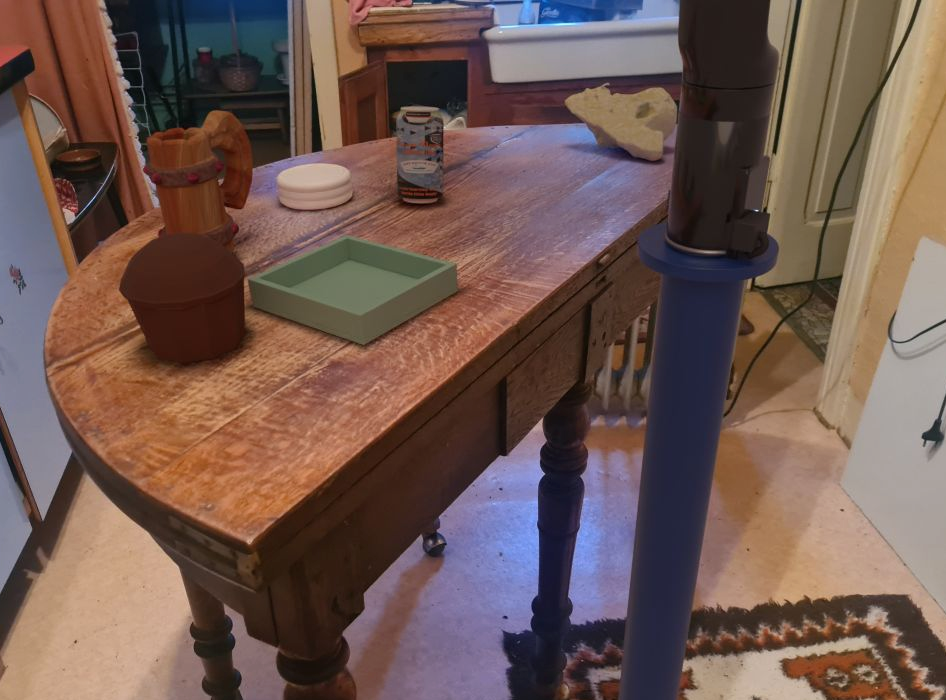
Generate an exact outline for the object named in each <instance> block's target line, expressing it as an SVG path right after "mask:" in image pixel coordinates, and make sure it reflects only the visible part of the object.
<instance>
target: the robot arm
mask: <svg viewBox="0 0 946 700" xmlns="http://www.w3.org/2000/svg"><path fill="white" fill-rule="evenodd" d="M771 2H772V1H771V0H679V8H678V25H677V26H678V27H677V28H678V29H677V44H678V45H677V46H678V49H679V54H680V57H681V61H682V73H681V86H680V94H679V104H678V112H677V122H676V133H675V142H674V143H675V144H674V154H673V162H672V171H671V173H672V174H671V180H670V189H668V191H667V192H668V193H667V202H668V211H667V219H666V222H667V226H666V228H667V230H666V232H665V243H666V245H667V246H668V247H669V248H671V249H673V250H675V251H677V252H679V253H682V254H686V255H690V256H695V257H703V258H730V259H737V258H738V257H739V256H741V255H742V254H743V253H744V252H746V256H747V258H749V259H751V258H754V257H757V256H760V255H762V254H763V253H765V252H766V250H767V249H768V247H769V239H768V237H767V233H768V232H769V225H770V219H771V213H769V212H765V211H763V206H764V200H765V194H766V186H767V181H768V175H769V169H770V164H771V157H770V156H769V155H767V154H765V153H766V148H767V147H766V146H767V141H768V134H769V128H770V121H771V115H772V110H773V103H774V98H775V90H776V84H777V78H778V73H779V65H780V53H779V50H778V49H777V48H776V47H775V46H774V45H772V43H771V41H770V38H769V21H770V10H771ZM758 246H759V247H758ZM757 247H758V248H757Z"/></svg>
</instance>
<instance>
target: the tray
mask: <svg viewBox="0 0 946 700" xmlns="http://www.w3.org/2000/svg"><path fill="white" fill-rule="evenodd" d="M247 283H248V289H249V294H250V301H251V304H252V308H255V309H258V310H262V311H264V312H267V313H270V314H273V315H275V316H279V317H282V318H284V319H287V320H290V321H293V322H296V323H299V324H302V325H304V326H307V327H310V328H313V329H315V330H318V331H322V332H325V333H327V334H330V335H333V336H336V337H338V338H342V339H344V340H347V341H350V342H354V343H356V344H359V345H362V346H366V345H367V344H369V343H370V342H372V341H374V340H375V339H377V338H379V337H381V336H383V335H384V334H387V333H388V332H390V331H391V330H393V329H395V328H397V327H399V326H400V325H402V324H403V323H405V322H407V321H408V320H410V319H412V318H414V317H416V316H417V315H419V314H420V313H423V312H424V311H426V310H428V309H430V308H431V307H433V306H435V305H436V304H438V303H440V302H441V301H443V300H445V299H447V298H449V297H450V296H452V295H455V294H456V293H457V292H458V291H459V287H458V286H459V285H458V265H457V263H456V262H452V261H448V260H446V259H445V260H444V259H440V258H437V257H432V256H428V255H426V254H422V253H417V252H413V251H411V250H406V249H402V248H400V247H394V246H391V245H387V244H383V243H379V242H376V241H372V240H367V239H364V238H360V237H356V236H352V235H348V234H346V235H344V236H341V237H339V238H337V239H334V240H332V241H330V242H328V243H326V244H322V245H320V246H319V247H316V248H314V249H312V250H310V251H307V252H305V253H302V254H300V255H298V256H296V257H294V258H292V259H289V260H287V261H285V262H282V263H280V264H278V265H276V266H273V267H270V268H269V269H267V270H264V271H262V272H259V273H257V274H255V275H253V276H251V277H248V278H247Z"/></svg>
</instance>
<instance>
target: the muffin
mask: <svg viewBox="0 0 946 700" xmlns="http://www.w3.org/2000/svg"><path fill="white" fill-rule="evenodd" d="M245 271H246V270H245V263H243V262H242V261H241V260H240V259H239V258H238V257H237V256H236V255H235V254H234V253H233V252H232V253H231V252H230V251H229V250H228V249H227V248H225V247H224V246H223V245H221V244H219V243H218V242H216V241H214V240H212V239H211V238H208V237H205V236H202V235H200V234H194V233H173V234H168V235H163V236H161V237H159V236H158V237H156V238H153V239H151V240H150V241H148V242H147V243H146V244H145V245H143V246H142V247H141V248H140V249H139V250H137V251H136V252H135V253H134V254H133V255H132V256H131V258H130V259H129V261H128V264H127V266H126V267H125V270H124V272H123V275H122V277H121V278H120V282H119V287H118V291H119V292H120V294H121V295H122V297H123V298H124V299H126V300H127V302H128V304H129V307H130V308H131V310H132V313H133V315H134V317H135V319H136V321H137V324H138V325H139V328H140V330H141V332H142V334H143V337H144V338H145V340H146V343H147V345H148V347H149V349H151V350H152V352H154V354H155V356H156V357H157V360H163V361H170V362H175V363H179V364H187V363H193V362H199V361H206V360H214V359H216V358H218V357H220V356H222V355H224V354H226V353H228V352H230V351H233V350H235V349H238V347H239V345H240V343H241V341H242V339H243V338H244V337H245V336H246V309H245V307H246V305H245V276H246V272H245Z"/></svg>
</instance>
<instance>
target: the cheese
mask: <svg viewBox="0 0 946 700" xmlns="http://www.w3.org/2000/svg"><path fill="white" fill-rule="evenodd" d="M605 86H610V83H609V82H606V83H604V84H602V85H600V86H597V87H595V88H589V87H586V88H585V89H584V91H582V92H579V93H575V94H572V95H570V96H569V97H567V98H566V99H564V105H565V106H566V108H567V109H568V110H569V112H570V113H571V114H573V115H575V117H577V118H578V119H579V120H581V121H582V122H583V123H584V124H585V125H586V126H587V129H588V130H589V131H590V132H591V133H592V134H593V137H594V138H595V141H596V143H597V145H598V147H599V148H601V149H603V148H606V147H610V149H616V148H622V149H623V150H625V151H627V152H628V153H629V154H630V155H631V156H632V157H633V158H635V159H637V158H639V159H645V160H647V161H650V162H654V161H658V160H660V159H662V157H663V154H664V147H665V141H666V140H668V139H669V137H670V136H671V135H672V134H673V133H674V131H675V128H676V126H677V120H678V106H677V104H676V102H675V101H674V100H673V98H672V96H671V94H670V93H668V92H667V91H666V90H665V89H664V88H663V87H649V88H646V89H644V90H642V91H640V92H637V93H633V94H631V93H630V94H629V93H628V94H625V93H623V94H621V93H618V92H616V93H614V94H611V91H610V89H609V88H607V87H605Z"/></svg>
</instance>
